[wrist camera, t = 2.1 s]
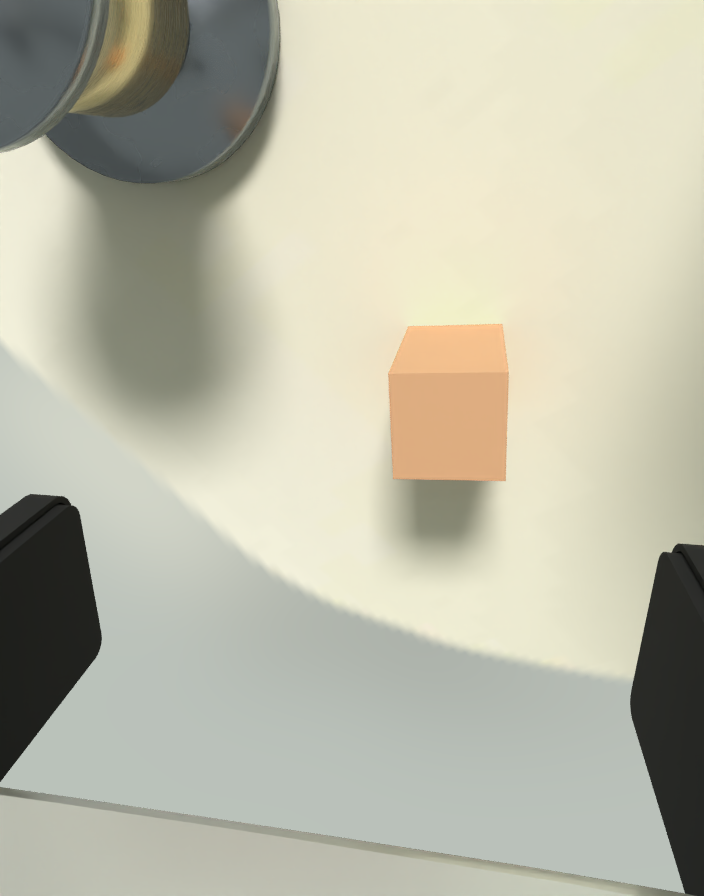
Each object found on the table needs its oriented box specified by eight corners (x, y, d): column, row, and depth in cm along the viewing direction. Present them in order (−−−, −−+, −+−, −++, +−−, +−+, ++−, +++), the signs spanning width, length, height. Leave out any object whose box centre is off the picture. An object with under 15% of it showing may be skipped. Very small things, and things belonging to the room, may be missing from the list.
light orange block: (502, 323, 28) (508, 372, 22) (499, 412, 30) (505, 480, 23) (408, 326, 29) (388, 373, 22) (411, 412, 30) (393, 478, 24)
